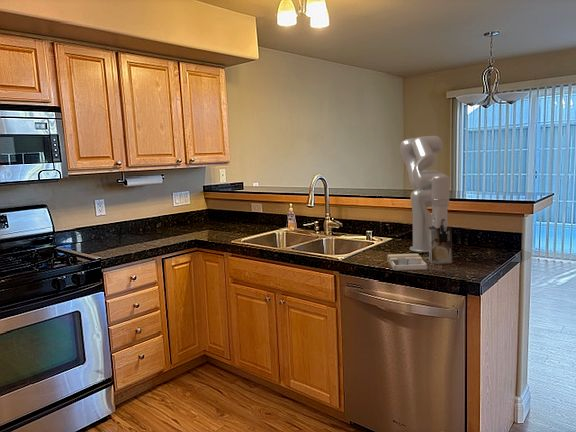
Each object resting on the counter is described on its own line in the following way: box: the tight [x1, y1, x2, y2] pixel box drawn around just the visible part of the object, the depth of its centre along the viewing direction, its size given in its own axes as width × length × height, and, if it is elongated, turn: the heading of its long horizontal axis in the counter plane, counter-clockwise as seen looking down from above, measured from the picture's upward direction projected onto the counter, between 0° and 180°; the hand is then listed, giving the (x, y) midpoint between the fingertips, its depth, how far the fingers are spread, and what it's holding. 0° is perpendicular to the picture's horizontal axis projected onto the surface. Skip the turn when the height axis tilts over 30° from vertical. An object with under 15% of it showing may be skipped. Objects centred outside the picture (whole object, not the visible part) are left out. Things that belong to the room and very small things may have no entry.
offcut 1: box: [397, 258, 407, 265], centre depth 197 cm, size 4×4×4 cm
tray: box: [390, 260, 428, 272], centre depth 195 cm, size 8×14×2 cm, turn 87°
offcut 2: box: [407, 258, 417, 265], centre depth 196 cm, size 4×4×4 cm
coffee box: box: [428, 225, 453, 265], centre depth 202 cm, size 9×6×16 cm
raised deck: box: [387, 252, 424, 266], centre depth 204 cm, size 10×14×3 cm
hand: (439, 239), depth 202 cm, fingers open, 9 cm apart
